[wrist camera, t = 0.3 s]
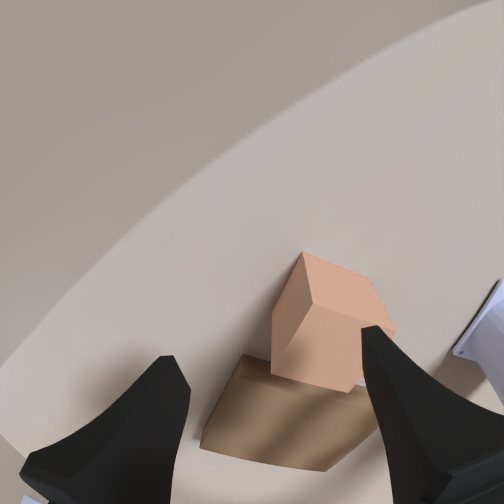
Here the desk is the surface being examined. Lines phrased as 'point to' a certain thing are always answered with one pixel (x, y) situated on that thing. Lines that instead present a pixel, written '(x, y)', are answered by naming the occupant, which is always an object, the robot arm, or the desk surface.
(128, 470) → the robot arm
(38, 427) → the desk surface
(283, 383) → the block
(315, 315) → the terracotta block
